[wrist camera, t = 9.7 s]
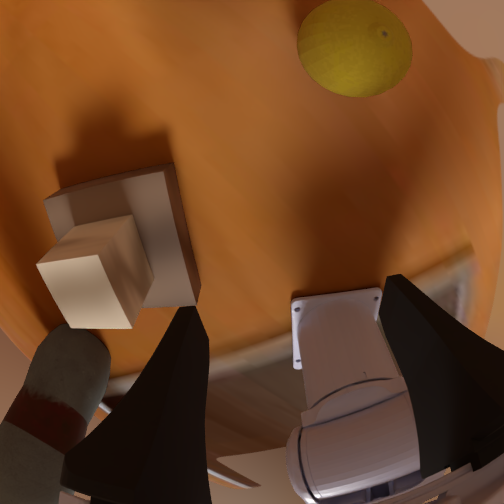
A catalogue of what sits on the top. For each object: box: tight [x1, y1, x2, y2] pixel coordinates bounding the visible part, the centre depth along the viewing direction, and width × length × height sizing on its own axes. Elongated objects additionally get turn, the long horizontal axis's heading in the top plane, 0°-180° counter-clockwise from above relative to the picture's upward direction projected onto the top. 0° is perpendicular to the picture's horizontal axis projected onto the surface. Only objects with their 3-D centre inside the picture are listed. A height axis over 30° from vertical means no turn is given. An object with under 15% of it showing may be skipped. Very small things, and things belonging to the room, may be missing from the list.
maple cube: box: [36, 214, 154, 329], centre depth 16 cm, size 5×5×5 cm
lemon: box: [297, 0, 412, 97], centre depth 11 cm, size 6×6×8 cm
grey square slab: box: [43, 162, 201, 308], centre depth 20 cm, size 10×10×3 cm
